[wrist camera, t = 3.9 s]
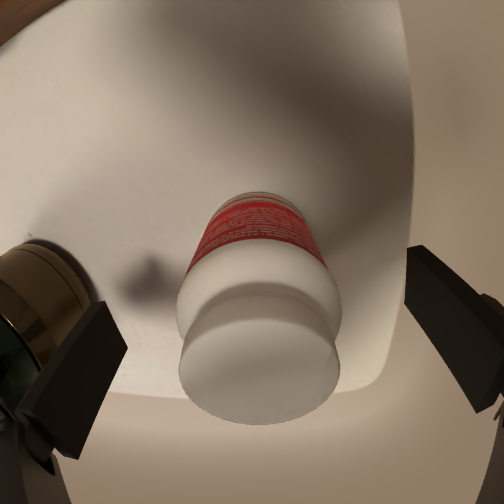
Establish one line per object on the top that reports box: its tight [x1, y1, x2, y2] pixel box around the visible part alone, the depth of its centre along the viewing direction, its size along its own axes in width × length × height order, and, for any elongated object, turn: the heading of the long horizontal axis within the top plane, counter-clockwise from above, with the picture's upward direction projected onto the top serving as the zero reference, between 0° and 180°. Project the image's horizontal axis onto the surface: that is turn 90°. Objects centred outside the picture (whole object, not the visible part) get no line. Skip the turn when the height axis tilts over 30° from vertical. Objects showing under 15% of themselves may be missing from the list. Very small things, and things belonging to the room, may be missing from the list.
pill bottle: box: [176, 193, 342, 425], centre depth 13 cm, size 6×6×11 cm
